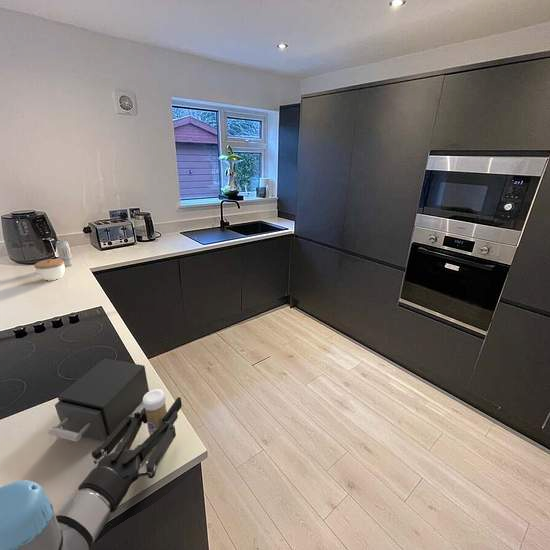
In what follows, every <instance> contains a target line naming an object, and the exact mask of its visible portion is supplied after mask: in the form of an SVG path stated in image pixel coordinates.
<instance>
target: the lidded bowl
mask: <svg viewBox="0 0 550 550" xmlns="http://www.w3.org/2000/svg"><path fill="white" fill-rule="evenodd" d="M33 266H34V268H35V271H36V273H37V275H38V276H39V277H40V278H41V279H43V280H44V281H46V280H48V281H47V282H52V281H51V280H54V281H57V280H56V279H58V280H60V279H62V278H63V276H64V275H65V272H66V267H65V265H64V261H63V260H61V259H60V258H47V259H45V260H40V261H38V262H36V263H34V264H33ZM61 277H62V278H61ZM59 278H60V279H59Z"/></svg>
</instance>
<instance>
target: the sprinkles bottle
mask: <svg viewBox="0 0 550 550" xmlns="http://www.w3.org/2000/svg"><path fill="white" fill-rule="evenodd" d="M142 405H143V408H145V412H146V417H147V423H146V424H147V430H148V435H149V436H150V435H151V434H152V433H153V432H154V431H155V430H157V429H158V428H159V427H160V426H161V425H162V424H163V420H162V419H163V417H164V416H165V415H166V413H167V412H168V410H167V406H166V394H165V392H164V391H163V390H162V389H158V388H157V389H151V390H149V392H148V393H146V394H145V395H144V397H143V401H142ZM155 448H156V447H155ZM155 448H154V449H155Z"/></svg>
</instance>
